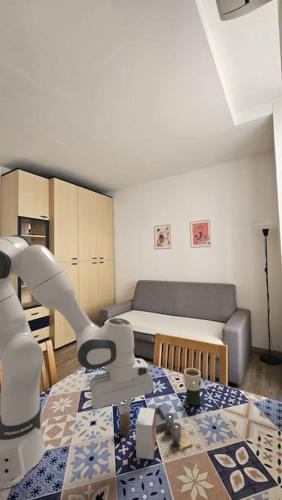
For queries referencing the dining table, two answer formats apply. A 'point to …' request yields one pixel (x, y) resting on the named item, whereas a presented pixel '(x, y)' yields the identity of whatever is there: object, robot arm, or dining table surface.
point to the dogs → (176, 433)
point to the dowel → (125, 424)
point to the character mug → (192, 385)
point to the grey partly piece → (160, 418)
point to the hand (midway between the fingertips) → (124, 412)
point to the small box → (146, 433)
